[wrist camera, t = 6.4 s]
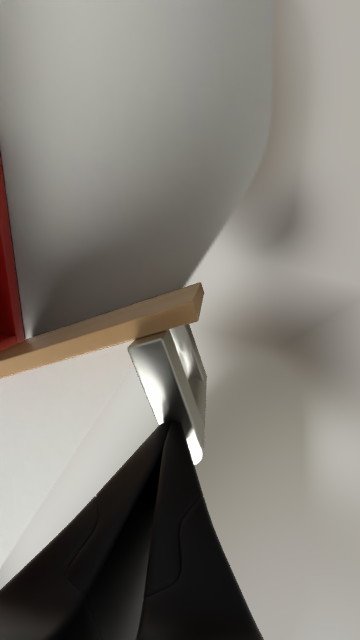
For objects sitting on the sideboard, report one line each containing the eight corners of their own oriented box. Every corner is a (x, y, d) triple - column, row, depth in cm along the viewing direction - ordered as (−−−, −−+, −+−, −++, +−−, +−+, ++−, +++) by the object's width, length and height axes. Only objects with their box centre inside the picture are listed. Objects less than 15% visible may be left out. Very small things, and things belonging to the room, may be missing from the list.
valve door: (226, 364, 16) (240, 459, 8) (62, 403, 19) (-39, 500, 11) (200, 282, 15) (190, 305, 7) (28, 338, 18) (-110, 397, 10)
